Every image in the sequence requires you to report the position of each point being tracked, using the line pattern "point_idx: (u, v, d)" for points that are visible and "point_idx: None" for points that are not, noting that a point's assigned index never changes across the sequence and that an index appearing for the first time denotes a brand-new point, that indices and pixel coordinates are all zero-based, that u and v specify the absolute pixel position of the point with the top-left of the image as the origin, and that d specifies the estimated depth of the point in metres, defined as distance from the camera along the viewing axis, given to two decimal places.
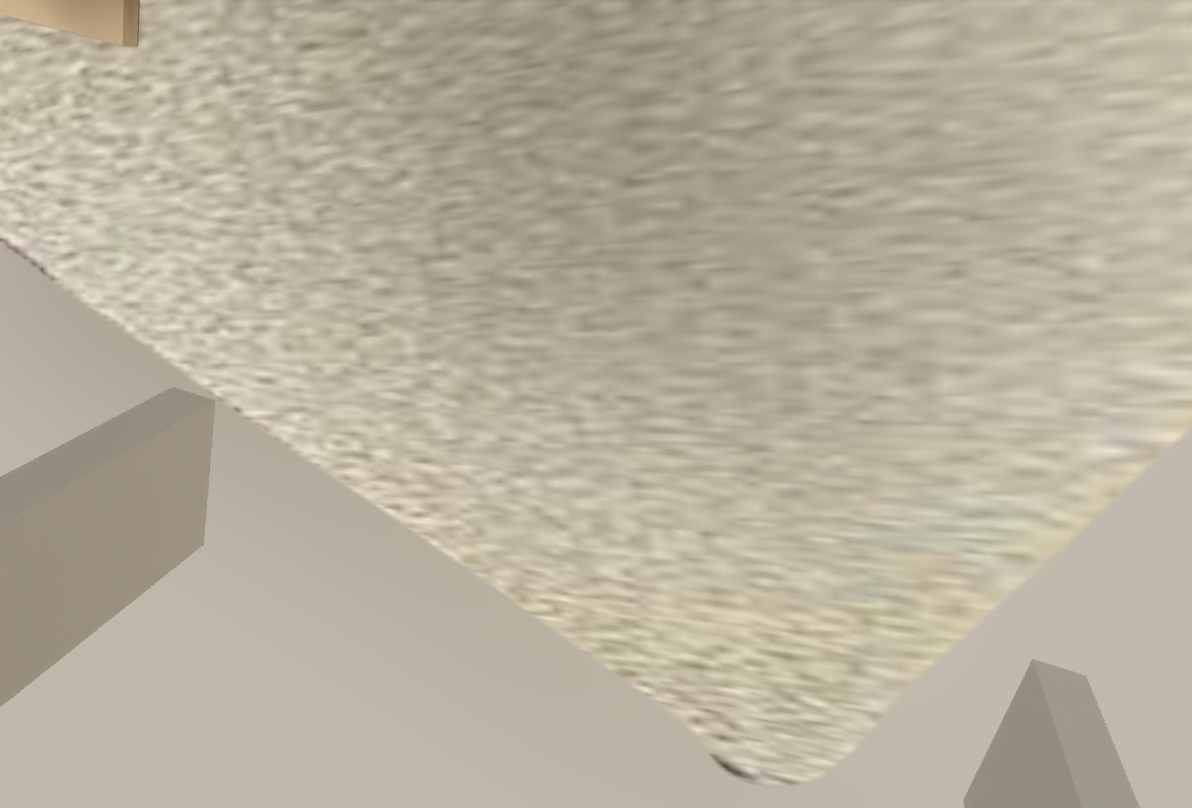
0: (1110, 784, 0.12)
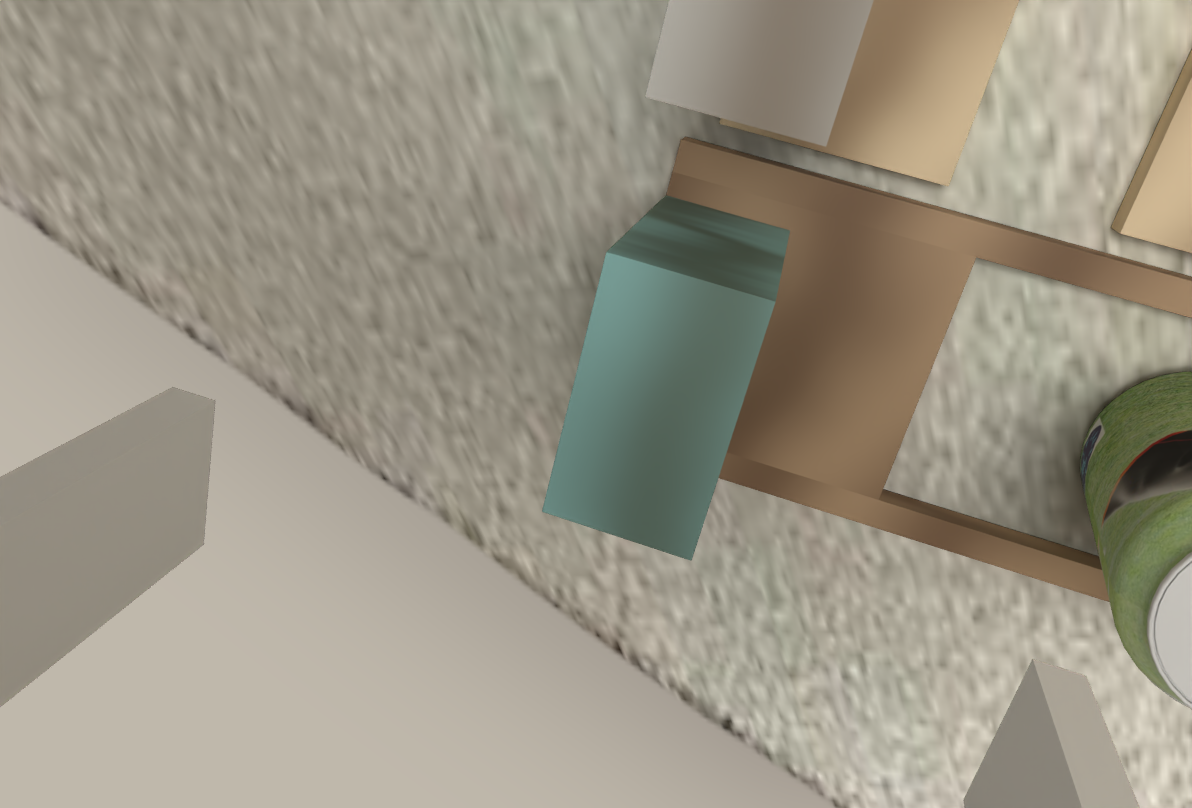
0: (1110, 784, 0.12)
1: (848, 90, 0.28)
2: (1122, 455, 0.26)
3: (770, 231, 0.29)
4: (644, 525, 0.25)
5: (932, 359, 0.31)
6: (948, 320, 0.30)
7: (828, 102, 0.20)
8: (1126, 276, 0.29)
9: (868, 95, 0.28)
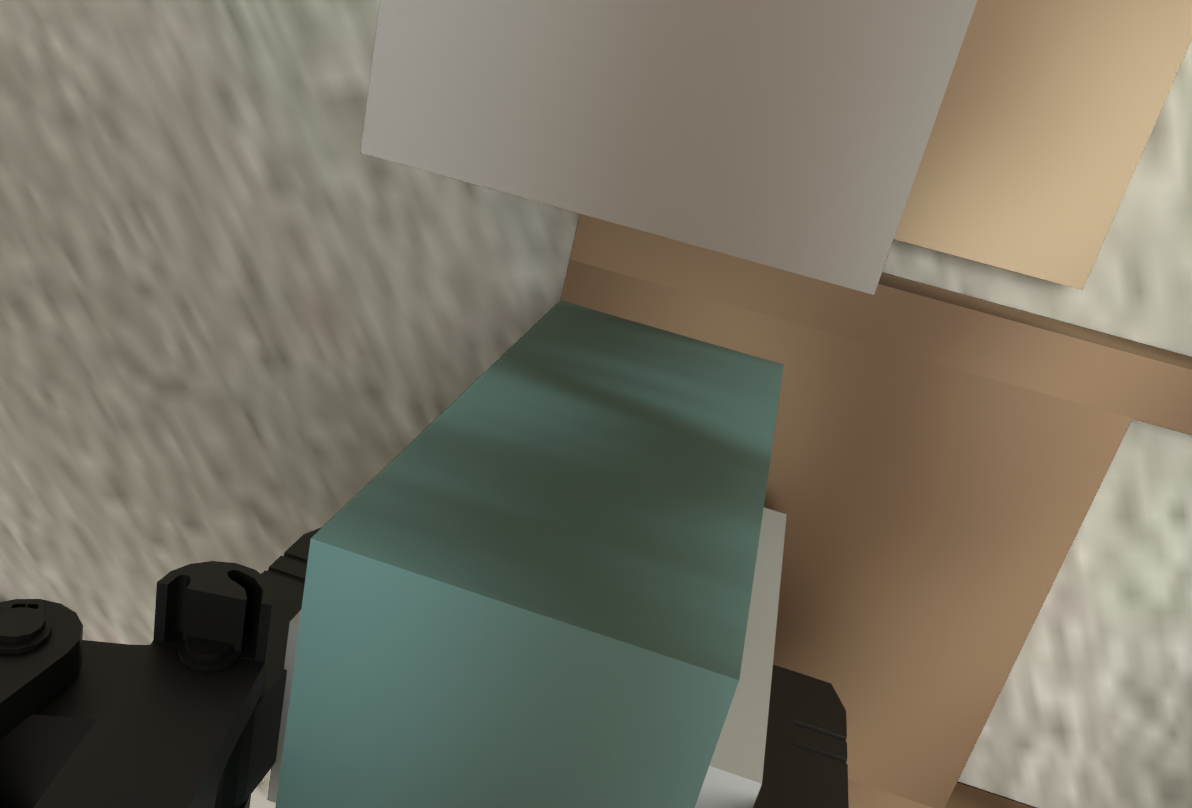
0: (762, 579, 0.14)
1: None
2: None
3: (746, 374, 0.16)
4: None
5: (1044, 591, 0.17)
6: (1075, 526, 0.16)
7: (881, 168, 0.07)
8: None
9: None
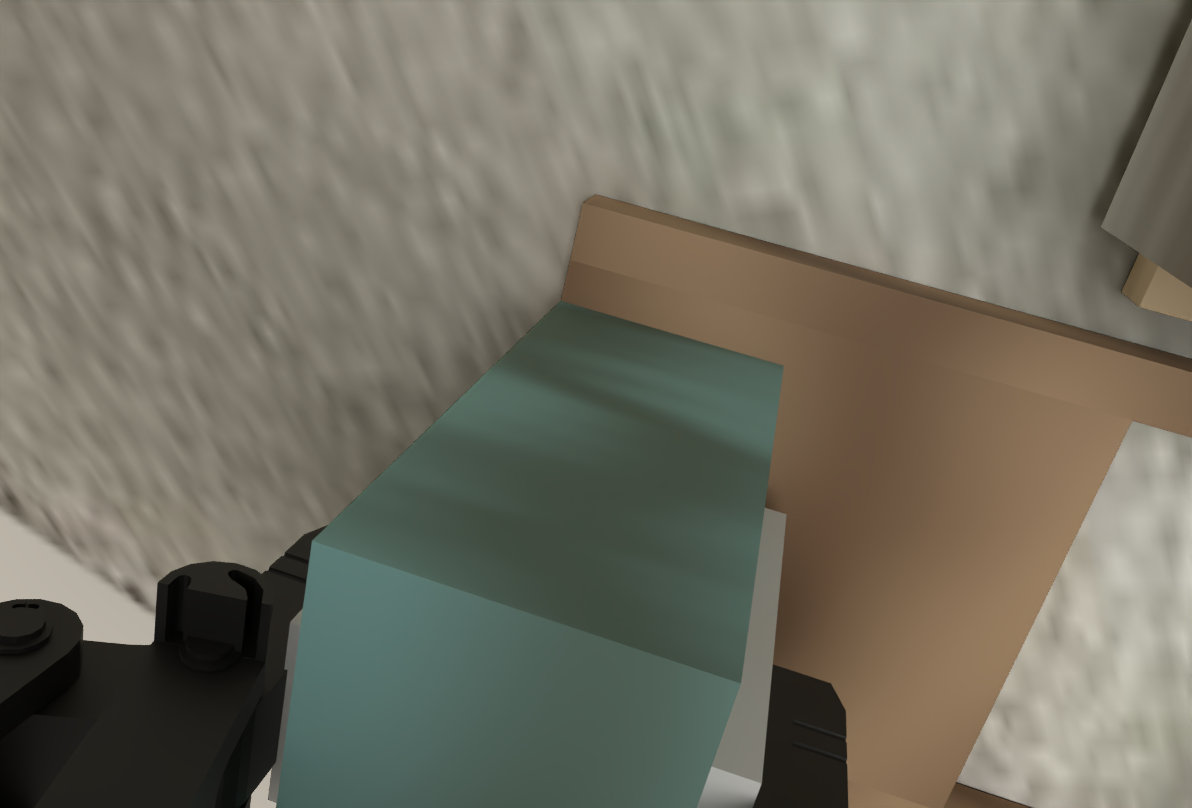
0: (761, 579, 0.14)
1: None
2: None
3: (746, 375, 0.16)
4: None
5: (1043, 593, 0.17)
6: (1075, 528, 0.16)
7: None
8: None
9: None
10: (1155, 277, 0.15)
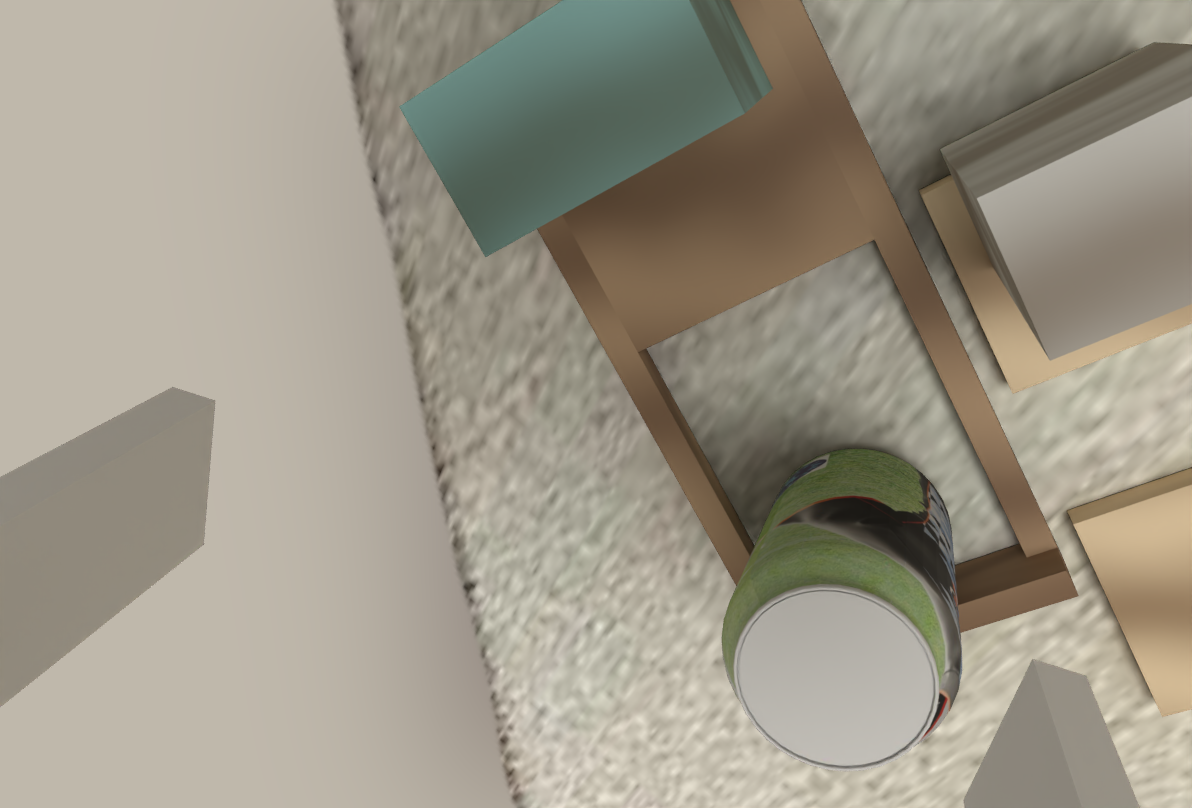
0: (1110, 784, 0.12)
1: None
2: (827, 490, 0.29)
3: (761, 72, 0.28)
4: (474, 195, 0.23)
5: (773, 285, 0.31)
6: (811, 267, 0.31)
7: (1085, 335, 0.21)
8: (949, 348, 0.31)
9: None
10: (937, 188, 0.29)
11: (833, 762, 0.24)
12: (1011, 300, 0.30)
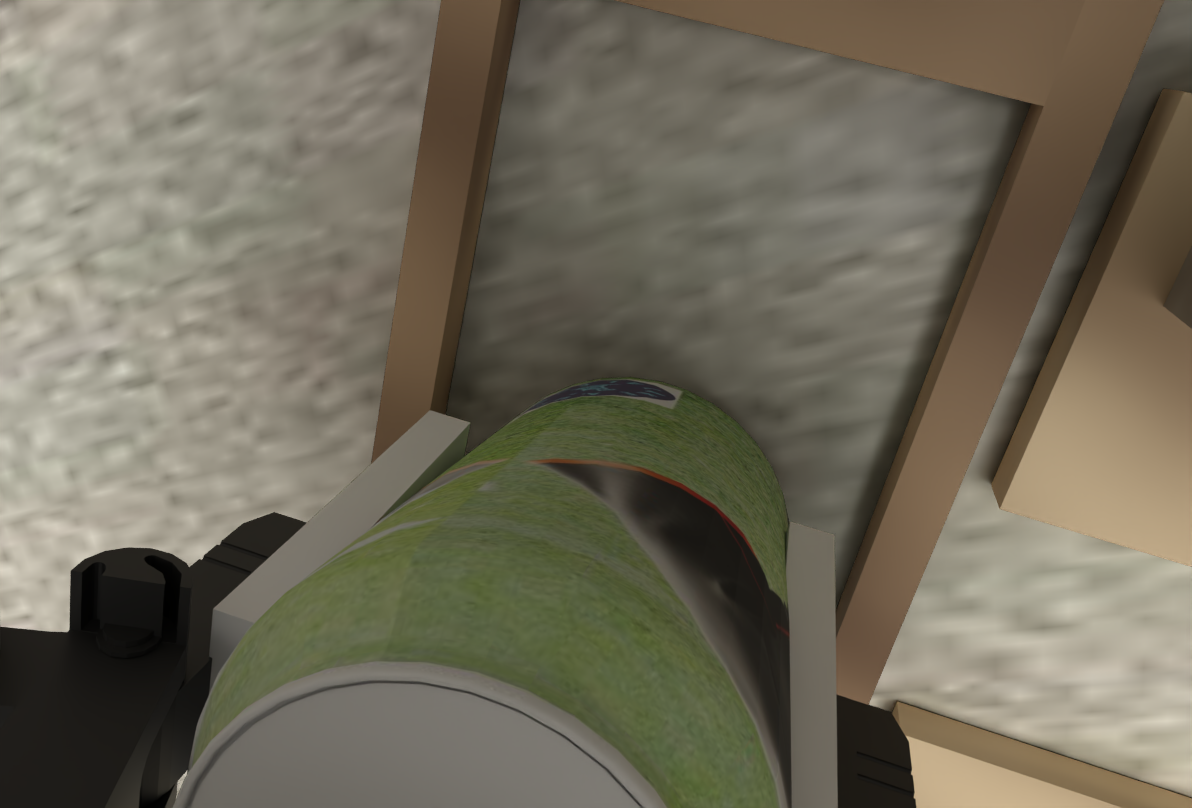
0: (817, 604, 0.14)
1: None
2: (669, 457, 0.13)
3: None
4: None
5: (821, 46, 0.15)
6: (907, 67, 0.15)
7: None
8: (980, 375, 0.16)
9: (1190, 379, 0.15)
10: None
11: None
12: (1136, 375, 0.15)
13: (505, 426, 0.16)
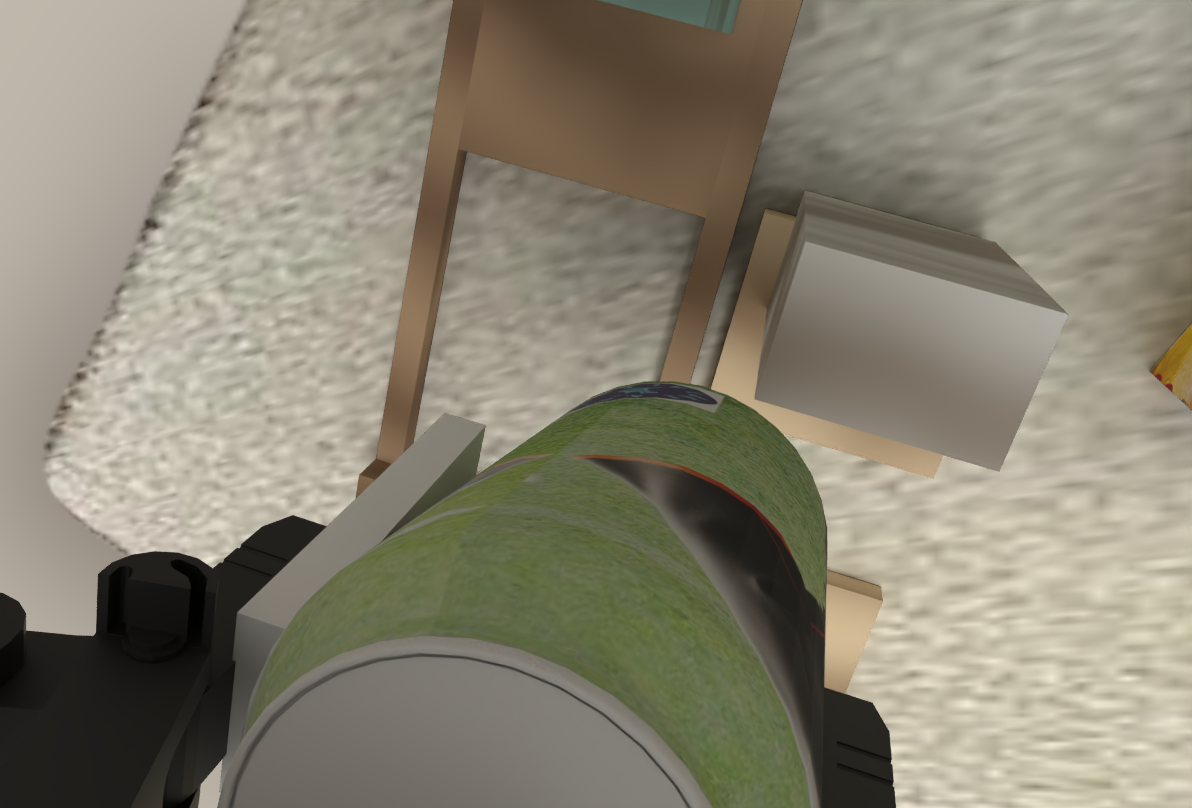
0: None
1: None
2: (710, 457, 0.14)
3: (734, 13, 0.28)
4: None
5: (606, 187, 0.32)
6: (644, 198, 0.32)
7: (791, 400, 0.24)
8: (689, 343, 0.33)
9: None
10: (779, 218, 0.31)
11: None
12: (758, 343, 0.33)
13: (549, 425, 0.17)
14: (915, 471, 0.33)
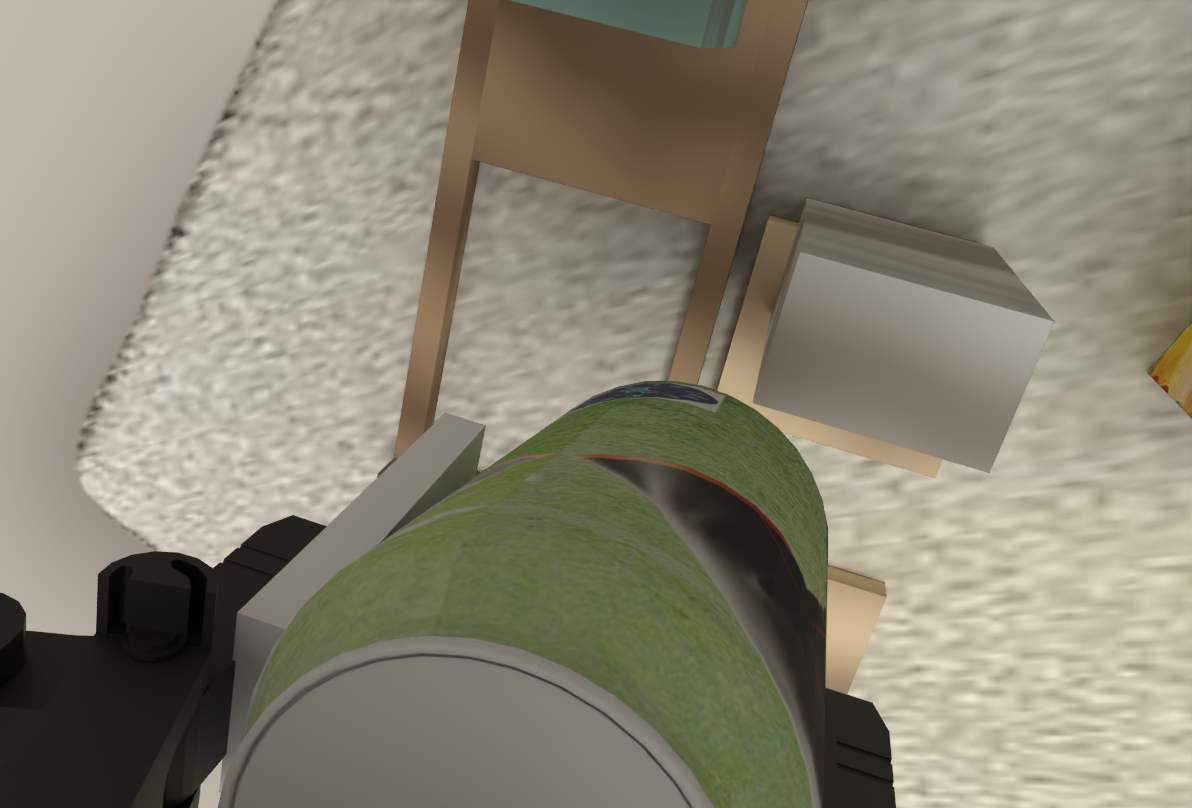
0: None
1: None
2: (711, 457, 0.13)
3: (737, 27, 0.29)
4: None
5: (614, 196, 0.33)
6: (651, 206, 0.33)
7: (788, 404, 0.25)
8: (696, 346, 0.34)
9: None
10: (782, 224, 0.32)
11: None
12: (763, 346, 0.33)
13: (550, 425, 0.17)
14: (917, 470, 0.34)
